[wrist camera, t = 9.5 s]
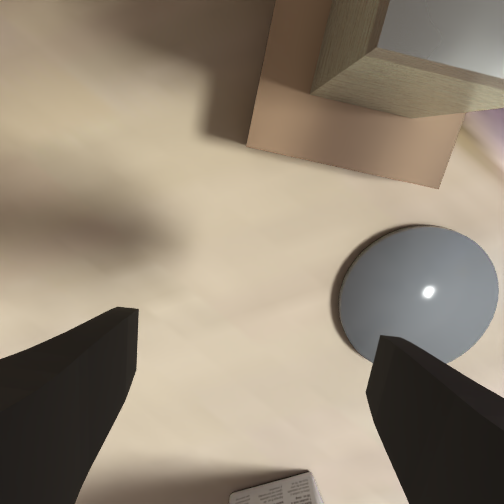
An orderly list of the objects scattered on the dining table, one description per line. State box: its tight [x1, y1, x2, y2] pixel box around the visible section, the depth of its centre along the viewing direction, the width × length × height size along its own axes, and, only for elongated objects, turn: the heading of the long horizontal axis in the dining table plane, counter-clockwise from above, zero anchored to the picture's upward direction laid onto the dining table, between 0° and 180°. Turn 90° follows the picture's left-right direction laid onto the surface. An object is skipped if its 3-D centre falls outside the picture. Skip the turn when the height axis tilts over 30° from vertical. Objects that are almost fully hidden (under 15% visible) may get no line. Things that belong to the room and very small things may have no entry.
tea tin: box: [310, 0, 504, 119], centre depth 11 cm, size 5×5×9 cm
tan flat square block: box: [246, 0, 466, 189], centre depth 17 cm, size 9×9×3 cm
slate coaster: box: [338, 225, 499, 364], centre depth 22 cm, size 9×9×1 cm
